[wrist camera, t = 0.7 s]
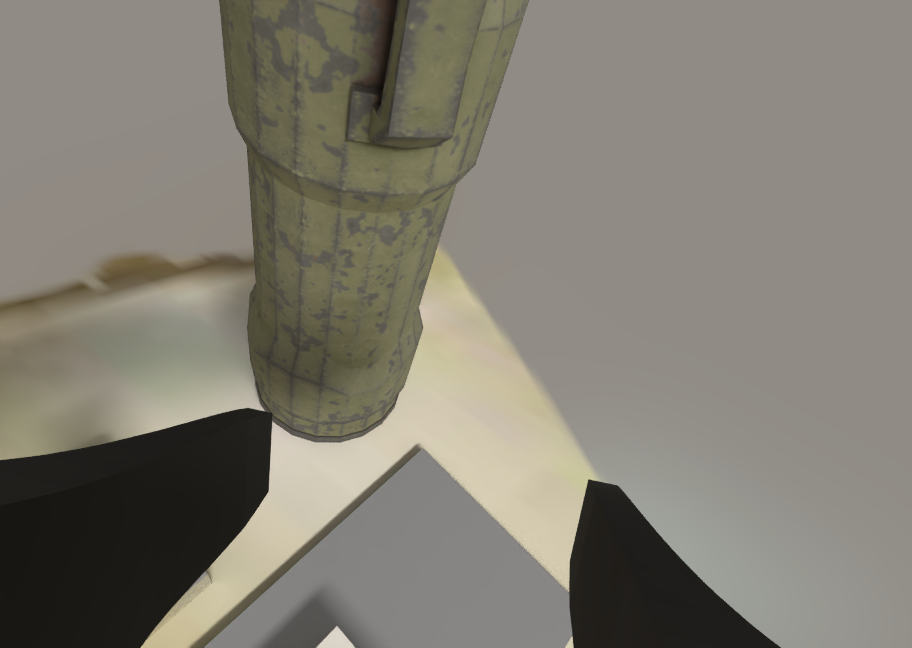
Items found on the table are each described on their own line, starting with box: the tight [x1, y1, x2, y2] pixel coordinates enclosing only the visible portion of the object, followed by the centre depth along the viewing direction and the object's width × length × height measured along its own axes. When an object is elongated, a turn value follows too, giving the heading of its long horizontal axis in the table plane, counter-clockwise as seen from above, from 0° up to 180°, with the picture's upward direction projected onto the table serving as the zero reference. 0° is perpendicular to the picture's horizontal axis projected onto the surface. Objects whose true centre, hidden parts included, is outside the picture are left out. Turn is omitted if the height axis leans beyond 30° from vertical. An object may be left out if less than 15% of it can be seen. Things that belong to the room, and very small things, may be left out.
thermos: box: [219, 0, 529, 442], centre depth 19 cm, size 9×12×35 cm
